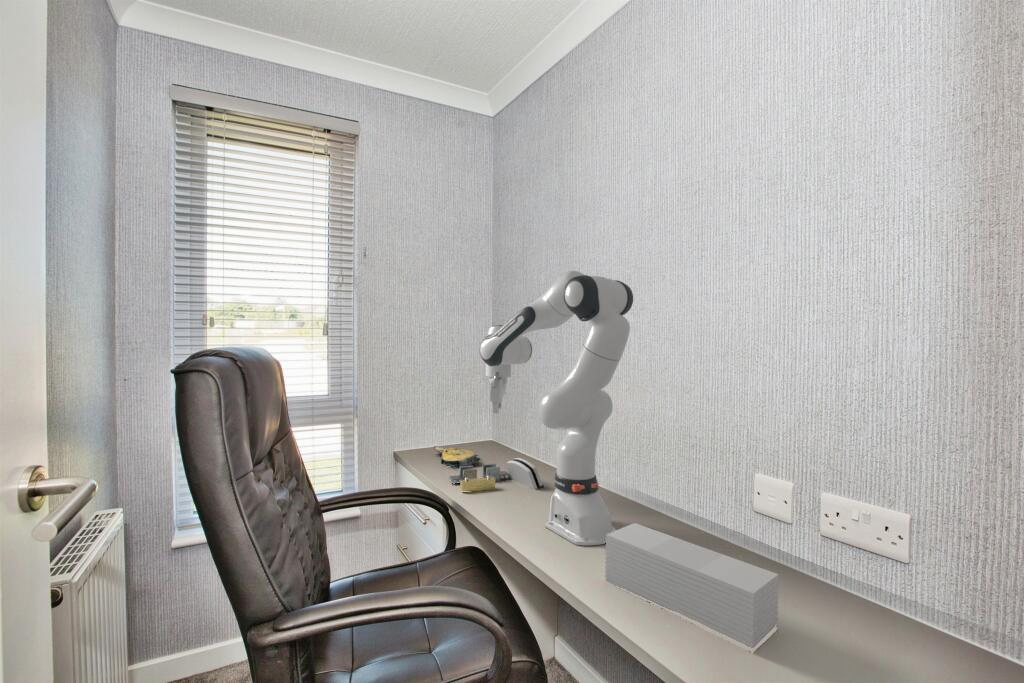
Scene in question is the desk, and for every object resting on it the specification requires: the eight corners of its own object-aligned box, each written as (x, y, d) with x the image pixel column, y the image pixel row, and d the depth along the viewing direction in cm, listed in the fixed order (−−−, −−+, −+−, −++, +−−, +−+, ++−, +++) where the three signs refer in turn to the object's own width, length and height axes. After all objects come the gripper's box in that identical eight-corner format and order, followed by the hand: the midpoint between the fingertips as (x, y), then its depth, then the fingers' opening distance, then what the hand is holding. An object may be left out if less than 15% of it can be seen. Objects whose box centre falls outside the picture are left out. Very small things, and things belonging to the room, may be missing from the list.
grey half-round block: (546, 487, 176) (538, 462, 174) (536, 493, 173) (528, 468, 171) (520, 475, 189) (513, 452, 188) (510, 481, 187) (503, 458, 185)
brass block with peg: (495, 490, 172) (495, 476, 172) (462, 493, 168) (462, 479, 168) (493, 488, 174) (493, 474, 174) (460, 491, 170) (460, 478, 170)
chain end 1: (476, 483, 179) (476, 469, 179) (452, 485, 176) (453, 471, 176) (472, 478, 185) (472, 465, 185) (449, 480, 182) (449, 467, 182)
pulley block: (451, 438, 227) (483, 451, 202) (453, 450, 228) (484, 465, 202) (423, 446, 220) (452, 461, 194) (425, 458, 220) (454, 475, 195)
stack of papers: (605, 582, 109) (605, 534, 108) (633, 568, 116) (634, 522, 115) (752, 655, 84) (753, 593, 84) (777, 631, 91) (778, 574, 91)
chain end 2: (509, 479, 184) (510, 466, 184) (487, 482, 181) (487, 468, 181) (504, 475, 190) (504, 462, 190) (482, 477, 186) (482, 464, 186)
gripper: (504, 374, 160) (503, 416, 161) (509, 369, 181) (508, 406, 181) (485, 374, 161) (484, 415, 161) (492, 368, 181) (491, 405, 182)
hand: (497, 410), depth 171 cm, fingers open, 8 cm apart
